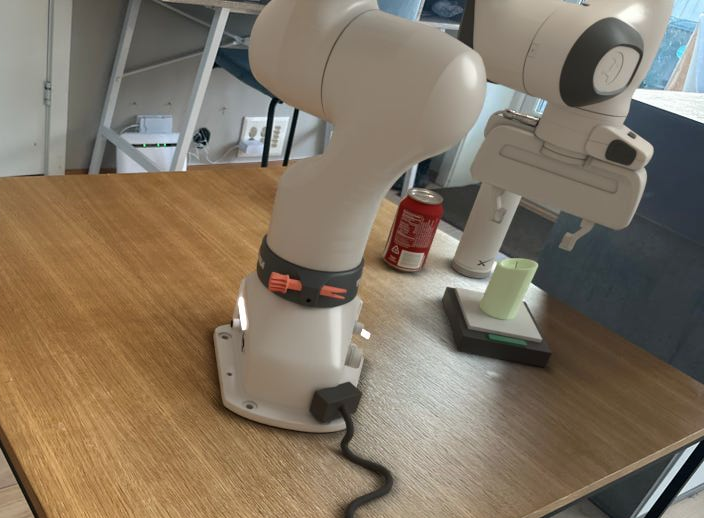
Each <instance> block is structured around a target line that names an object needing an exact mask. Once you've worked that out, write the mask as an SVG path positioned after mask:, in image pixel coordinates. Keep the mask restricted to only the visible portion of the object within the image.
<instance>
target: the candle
mask: <svg viewBox="0 0 704 518" xmlns="http://www.w3.org/2000/svg"><path fill="white" fill-rule="evenodd" d="M538 268H539V263H538V262H537V261H535V260H532V259H529V258H521V257H520V258H518V257H513V258H504V259H500V260H499V261H497V262H496V265H495V267H494V270H493V272H492V274H491V277H490V279H489V281H488V284H487V286H486V288H485V290H484V292H483V293H484V295H483V298H482V300H481V302H480V308H481V309H482V311H484V312H485V313H486V314H488V315H490V316H492V317H494V318H497V319H502V320H510V319H513V318H514V317H515V315H516V313H517V311H518V309H519V307H520V304H521V302H522V301H523V300H524V298H525V295H526V294H527V291H528V289H529V287H530V285H531V283H532V281H533V278H534V276H535V275H536V272H537V270H538Z"/></svg>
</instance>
